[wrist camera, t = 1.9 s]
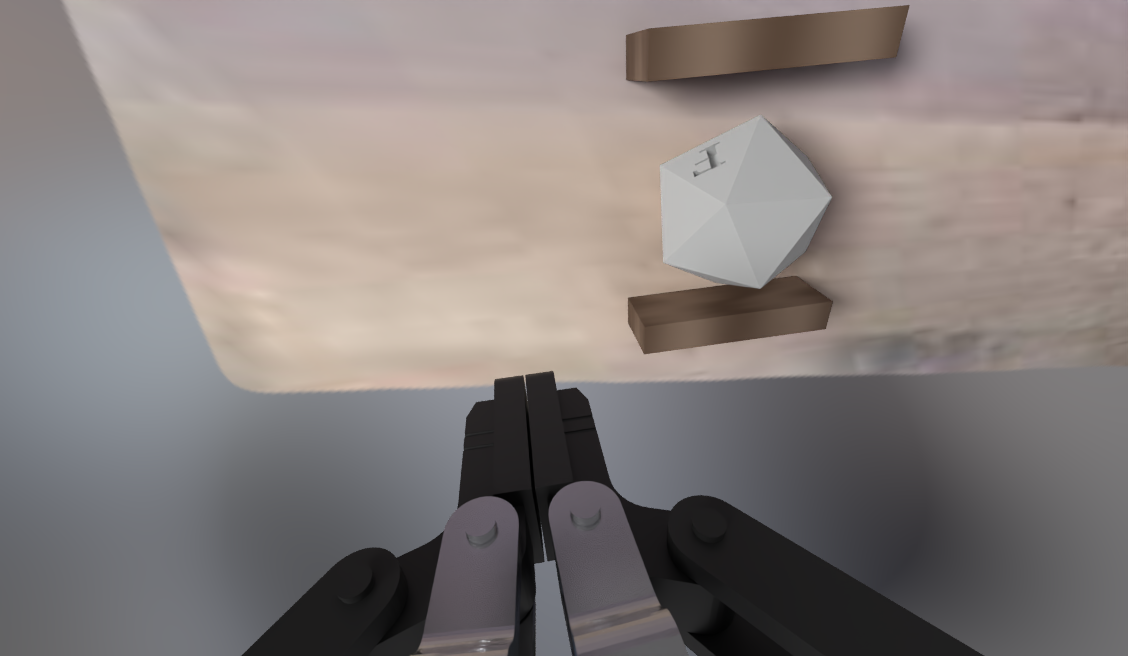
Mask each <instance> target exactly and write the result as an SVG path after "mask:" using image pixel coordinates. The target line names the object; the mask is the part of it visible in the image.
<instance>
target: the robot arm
mask: <svg viewBox="0 0 1128 656" xmlns="http://www.w3.org/2000/svg"><path fill="white" fill-rule="evenodd" d="M525 376H526V388H527V395H526V389H525V382H524V377H523V375H522V376H515V377H508V378H501V379H495V382H494V400H488V401H481V402H476V404H475V405H474V406H473V408H472V410H471V411H470V413H469V414H468V416H467V418H466V428H465V439H464V451H463V459H462V470H461V480H460V491H459V502H458V508H457V510H456V511H455V512H454V513H453V514H452V516H451V517H450V518H449V520H448V522H447V524H446V526H445V529H444V531H443V532H442V533H441V534H440V535H439V536H437V537H436V538H435V539H433V540H432V541H430V542H429V543H427V544H425V545H423V546H421V547H419V548H417V549H414V550H412V551H410V552H408V553H406V554H404V555H402V556H400V557H397V558H396V557H395V556H394V555H393V554H392V553H391V552H390V551H388V550H386V549H382V548H366V549H362V550H359V551H356V552H354V553H352V554H350V555H348V556H346V557H345V558H343V559H342V560H340V561H339V562H338V563H337V564H335V565H334V566H333V567H332V568H331V569H330V570H329V571H328V572H327V573H326V574H325V575H324V576H323V577H322V578H321V579H320V580H319V581H318V582H317V583H316V584H315V585H313V587H312V588H310V589H309V590H308V591H307V592H306V593H305V594H304V595H303V596H302V597H301V598H300V599H299V600H298V601H297V602H296V603H295V604H294V605H293V606H292V607H291V608H290V609H289V610H288V611H287V612H286V613H285V614H284V615H283V616H282V617H281V618H280V619H279V620H278V621H277V622H275V624H274V625H272V626H271V627H270V629H268V630H267V631H266V632H265V633H264V634H263V635H262V636H261V637H260V638H259V639H258V640H257V641H256V642H255V643H254V644H253V645H252V646H251V647H250V648H249V649H248V650H247V651H246V652H245V653H244V654H243V655H242V656H536V602H535V595H536V583H535V569H534V564H535V563H542V562H544V552H543V540H542V531H543V536H544V543H545V548H546V554H547V561H552V560H555V562H556V568H557V575H558V581H559V588H560V594H561V601H562V605H563V611H564V616H565V621H566V626H567V632H568V637H569V642H570V647H571V652H572V656H689V655H688V652H687V650H686V647H685V645H686V646H687V647H688V648H689V649H690V650H692V651H693V652H694V653H695V654H696V655H697V656H984V655H982V654H980V653H979V652H977V651H975V650H974V649H972V648H970V647H969V646H967V645H965V644H964V643H962V642H960V641H959V640H957V639H955V638H953V637H952V636H950V635H948V634H947V633H945V632H943V631H942V630H940V629H938V628H937V627H935V626H933V625H931V624H930V623H928V622H927V621H925V620H923V619H922V618H920V617H918V616H916V615H915V614H913V613H911V612H910V611H908V610H906V609H905V608H903V607H901V606H900V605H898V604H896V603H895V602H893V601H891V600H890V599H888V598H886V597H885V596H883V595H881V594H880V593H878V592H876V591H874V590H873V589H871V588H869V587H868V586H866V585H864V584H863V583H861V582H859V581H858V580H856V579H854V578H853V577H851V576H849V575H848V574H846V573H844V572H843V571H841V570H839V569H837V568H836V567H834V566H832V565H831V564H829V563H827V562H825V561H824V560H822V559H821V558H819V557H817V556H816V555H814V554H812V553H810V552H809V551H807V550H806V549H804V548H802V547H801V546H799V545H797V544H795V543H794V542H792V541H790V540H789V539H787V538H785V537H784V536H782V535H780V534H779V533H777V532H775V531H773V530H772V529H770V528H769V527H767V526H765V525H763V524H762V523H760V522H758V521H757V520H755V519H753V518H752V517H750V516H748V515H747V514H745V513H743V512H742V511H740V510H738V509H737V508H735V507H733V506H732V505H730V504H728V503H726V502H724V501H723V500H720V499H718V498H715V497H710V496H702V495H700V496H699V495H698V496H691V497H687V498H685V499H683V500H681V501H679V502H678V503H677V504H676V505H675V506H674V507H673V509H672V510H671V511H669V510H661V509H654V508H647V507H642V506H639V505H635V504H633V503H632V502H629V501H627V500H626V499H625V498H623V497H622V496H621V495H620V494H619V493H618V492H617V491H616V490H615V489H614V487H613V485H612V484H611V481H610V478H609V475H608V471H607V467H606V464H605V460H604V456H603V453H602V449H601V446H600V442H599V438H598V434H597V431H596V427H595V423H594V419H593V417H592V412H591V408H590V405H589V401H588V399H587V398H586V397H585V396H584V395H583V394H582V393H581V392H580V391H579V390H578V389H577V388H571V389H564V390H557V389H556V383H555V378H554V372H553V371H549V372H542V373H535V374H528V375H525ZM527 400H528V401H527ZM541 525H542V530H541ZM684 644H685V645H684Z"/></svg>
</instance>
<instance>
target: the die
mask: <svg viewBox="0 0 1128 656" xmlns="http://www.w3.org/2000/svg"><path fill="white" fill-rule="evenodd" d="M660 182H661V211H662V240H663V263H665V264H668V265H670V266H673V267H676V268H678V269H681V270H684V271H686V272H689V273H691V274H694V275H697V276H699V277H702V278H704V279H707V280H710V281H712V282H715V283H721V284H728V285H736V286H743V287H750V288H758V289H761V288H762V287H763V286H764V285H766V284H767V283H768V282H769V281H771V280H772V279H773V278H774V277H775V276H777V275H778V274H779V273H780V272H781V271H783V270H784V269H785V268H786V267H787V266H789V265H790V264H791V263H792V262H794V261H795V260H796V259H797V258H798V257H800V256H801V255H802V254H803V253H804V252H806V250H807V248H808V245H809V243H810V241H811V239H812V237H813V235H814V233H815V231H816V229H817V227H818V225H819V223H820V221H821V219H822V217H823V215H824V213H825V211H826V209H827V206H828V204H829V202H830V200H831V198H832V196H831V194H830V193H829V191H828V190H827V188H826V186H825V185H824V183H823V181H822V180H821V178H820V177H819V175H818V173H817V172H816V170H815V168H814V167H813V165H812V164H811V162H810V160H809V159H808V157H807V156H806V155H805V154H804V153H803V152H802V151H800V150H799V149H798V148H797V147H796V146H795V145H794V144H793V143H792V142H791V141H789V140H788V139H787V138H786V137H785V136H784V135H783V134H782V133H781V132H779V131H778V130H777V129H776V128H775V127H774V126H773V125H772V124H771V123H770V122H768V121H767V120H766V119H765V118H764V117H763V116H762V115H759V116H757V117H755V118H753V119H751V120H749V121H747V122H745V123H743V124H741V125H739V126H737V127H735V128H733V129H731V130H729V131H727V132H725V133H723V134H721V135H719V136H717V137H715V138H713V139H711V140H709V141H707V142H705V143H703V144H701V145H699V146H697V147H695V148H693V149H691V150H689V151H687V152H685V153H683V154H681V155H679V156H677V157H675V158H673V159H671V160H669V161H667V162H665V163H663V164H661V165H660Z"/></svg>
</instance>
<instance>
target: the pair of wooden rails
mask: <svg viewBox="0 0 1128 656" xmlns="http://www.w3.org/2000/svg"><path fill="white" fill-rule="evenodd" d="M908 9H909V5H906V6H895V7H883V8H872V9H861V10H850V11H839V12H828V13H817V14H806V15H795V16H784V17H772V18H761V19H750V20H739V21H728V22H717V23H706V24H695V25H684V26H672V27H661V28H650V29H646V30H642V31H639V32H635V33H632V34H629V35H626V80H632V81H647V82H648V81H659V80H669V79H679V78H689V77H699V76H710V75H720V74H730V73H740V72H750V71H761V70H771V69H781V68H791V67H801V66H812V65H822V64H832V63H842V62H852V61H863V60H873V59H883V58H893V57H896V56H897V52H898V48H899V44H900V40H901V36H902V33H903V29H904V25H905V21H906V17H907V13H908ZM832 303H833V301H832V300H830V299H829V298H827V297H826V296H824V295H823V294H821V293H820V292H818V291H817V290H816V289H814V288H813V287H811V286H810V285H808V284H807V283H805V282H804V281H803V280H801V279H800V278H798V277H797V276H792V277H784V278H776V279H772V280H771V281H769V282H768V283H767V284H766V285H764V286H763V287H762V288H761V289H758V288H750V287H743V286H736V285H723V286H715V287H707V288H700V289H692V290H684V291H677V292H669V293H661V294H654V295H646V296H638V297H631V298H628V323H629V325H630V327H631V329H632V331H633V333H634V335H635V337H636V339H637V341H638V343H639V345H640V347H641V349H642V351H643V353H644V354H650V353H657V352H664V351H671V350H678V349H686V348H693V347H700V346H707V345H714V344H721V343H729V342H736V341H743V340H750V339H757V338H764V337H772V336H779V335H786V334H793V333H800V332H807V331H815V330H822V329H826V326H827V322H828V318H829V315H830V311H831V307H832Z"/></svg>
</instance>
